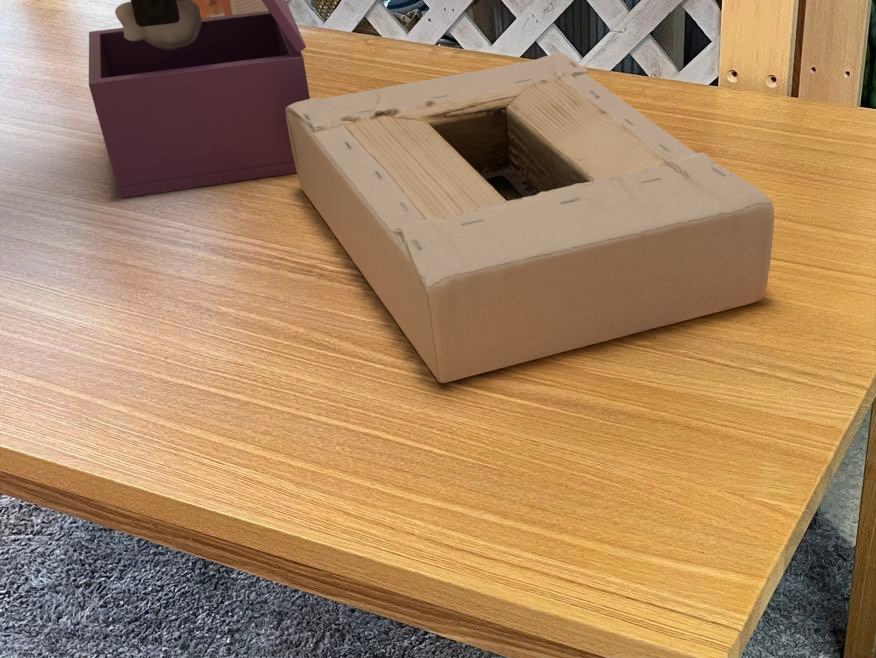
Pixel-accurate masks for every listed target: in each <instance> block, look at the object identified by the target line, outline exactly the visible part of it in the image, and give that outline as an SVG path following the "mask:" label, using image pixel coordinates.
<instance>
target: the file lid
mask: <svg viewBox="0 0 876 658" xmlns="http://www.w3.org/2000/svg"><path fill="white" fill-rule="evenodd" d="M262 1H263V3H264V4H265V6H266V7H267V9H268V10H269V12H270V13H271V15H272V16H273V18H274V19H275V20H276V22H277V23H278V25H279V26H280V28H281V29H282V31H283V32H284V34H285V35H286V37H287V38H288V39H289V41H290V42H291V44H292V45H293V47H294V48H295V50H296V51H297V52H298V53H299V52H300V51H301V52H302V51H303V50H305V49H306V48H307V45H306V43H305V40H304V38H303V36H302V34H301V31H300V30H299V27H298V24H297V22H296V19H295V18H294V16H293V12H292V11H291V8H290V7H289V4H288V2H287V0H262Z"/></svg>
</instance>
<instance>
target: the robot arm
mask: <svg viewBox="0 0 876 658" xmlns="http://www.w3.org/2000/svg"><path fill="white" fill-rule="evenodd" d="M130 2H131V4H132V8H133V12H134V16H135V21H136V24H137V25H138V26H140V27H145V26H154V25H163V24H171V23H177V22H179V20H180V16H179V11H178V6H177V2H176V0H130Z"/></svg>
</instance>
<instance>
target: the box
mask: <svg viewBox="0 0 876 658" xmlns="http://www.w3.org/2000/svg"><path fill="white" fill-rule="evenodd" d="M285 112H286V119H287V125H288V131H289V137H290V142H291V148H292V153H293V157H294V162H295V165H296V171H297V173H296V174H297V177H298V181H299V185H300V188H301V190H302V191H303V193H304V194H305V195H306V197H307V199H308V200H309V201H310V202H311V204H312V206H313V207H314V208H315V210H317V212H318V214H319V215H320V216H321V217H322V219H323V220H324V222H325V223H326V224H327V226H328V228H329V230H331V232H332V233H333V234H334V236H335V238H336V239H337V240H338V242H339V243H340V245H341V246H342V247H343V249H344V250H345V251H346V253H347V255H348V256H349V257H350V259H351V260H352V262H353V263H354V265H355V266H356V267H357V269H358V270H359V271H360V272H361V274H362V275H363V277H364V278H365V280H366V281H367V283H368V284H369V285H370V287H371V289H372V290H373V291H374V293H375V295H376V296H377V297H378V298H379V300H380V301H381V302H382V304H383V306H384V307H385V308H386V310H387V311H388V312H389V313H390V315H391V317H392V318H393V319H394V321H395V322H396V324H397V325H398V326H399V328H400V330H401V331H402V332H403V334H404V335H405V337H406V338H407V339H408V341H409V342H410V343H411V345H412V346H413V348H414V349H415V350H416V352H417V354H418V355H419V357H420V358H421V359H422V361H423V362H424V363H425V365H426V366H427V368H428V370H430V372H431V373H432V374H433V376H434V377H435V379H436V380H437V382H438V383H440V384H446V383H448V382H449V383H450V382H454V381H458V380H461V379H464V378H465V379H466V378H468V377H472V376H477V375H480V374H484V373H487V372H488V373H489V372H491V371H495V370H499V369H502V368H507V367H511V366H515V365H518V364H522V363H526V362H531V361H533V360H538V359H542V358H545V357H549V356H552V355H556V354H560V353H564V352H568V351H572V350H576V349H580V348H584V347H587V346H591V345H595V344H599V343H604V342H606V341H611V340H614V339H618V338H623V337H626V336H629V335H633V334H638V333H641V332H645V331H649V330H652V329H653V330H654V329H658V328H660V327H661V328H662V327H665V326H669V325H673V324H676V323H680V322H684V321H688V320H692V319H696V318H699V317H703V316H707V315H712V314H716V313H720V312H724V311H727V310H731V309H734V308H739V307H743V306H745V305H746V306H747V305H751V304H753V303H754V304H755V303H756V302H759V301H761V300H763V299H764V297H765V295H766V291H767V287H768V280H769V274H770V273H769V272H770V266H771V258H772V248H773V239H774V227H775V226H774V225H775V209H774V205H773V202H772V200H771V199H770V198H769V196H768V195H766V193H764V192H763V191H762V190H760V189H759V188H758V187H756V186H755V185H753V184H752V183H751V182H749V181H748V180H746V179H744V178H742V177H740V176H739V175H737V174H735V173H733V172H732V171H730V170H729V169H727V168H725V167H723V166H721V165H720V164H719V163H718V162H717V161H715V159H713V158H711V156H709V155H708V154H707V153H705V152H703V151H700V152H695V151H694V150H692V149H691V148H690V147H688V146H687V145H686V144H685V143H683V142H682V141H680V140H679V139H677V138H675V137H674V136H673V135H672V134H671V133H669V132H667V131H666V130H665V129H663V128H662V127H661V126H659V125H658V124H656V123H655V122H654V121H652V120H651V119H650V118H648V117H647V116H645V115H644V114H643V113H641V112H640V111H639V110H637V109H636V108H634V107H633V106H631V104H629V103H627V102H626V101H625V100H623V99H622V98H620V97H619V96H618V95H616V94H615V93H613V92H612V91H611V90H610V89H608V88H607V87H606V86H604V85H603V84H601V83H600V82H598V81H597V80H596V79H594V78H593V77H591V76H590V75H589V71H588V69H586V68H585V67H584V66H582V64H579V63H578V62H577V61H576V60H574V59H572V58H571V57H569V56H568V55H567V54H565V53H562V52H561V53H555V54H550V55H545V56H542V57H539V58H536V59H533V60H529V61H523V62H518V63H513V64H506V65H502V66H496V67H491V68H485V69H480V70H474V71H467V72H463V73H457V74H451V75H446V76H441V77H435V78H429V79H424V80H418V81H414V82H407V83H402V84H401V83H400V84H395V85H391V86H385V87H378V88H374V89H370V90H366V91H365V90H364V91H358V92H353V93H347V94H341V95H336V96H330V97H329V96H328V97H325V98H323V97H322V98H321V97H314V98H313V97H312V98H310V99H307V100H303V101H299V102H296V103H293V104H291V105H289V106H287V107H286V109H285Z"/></svg>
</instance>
